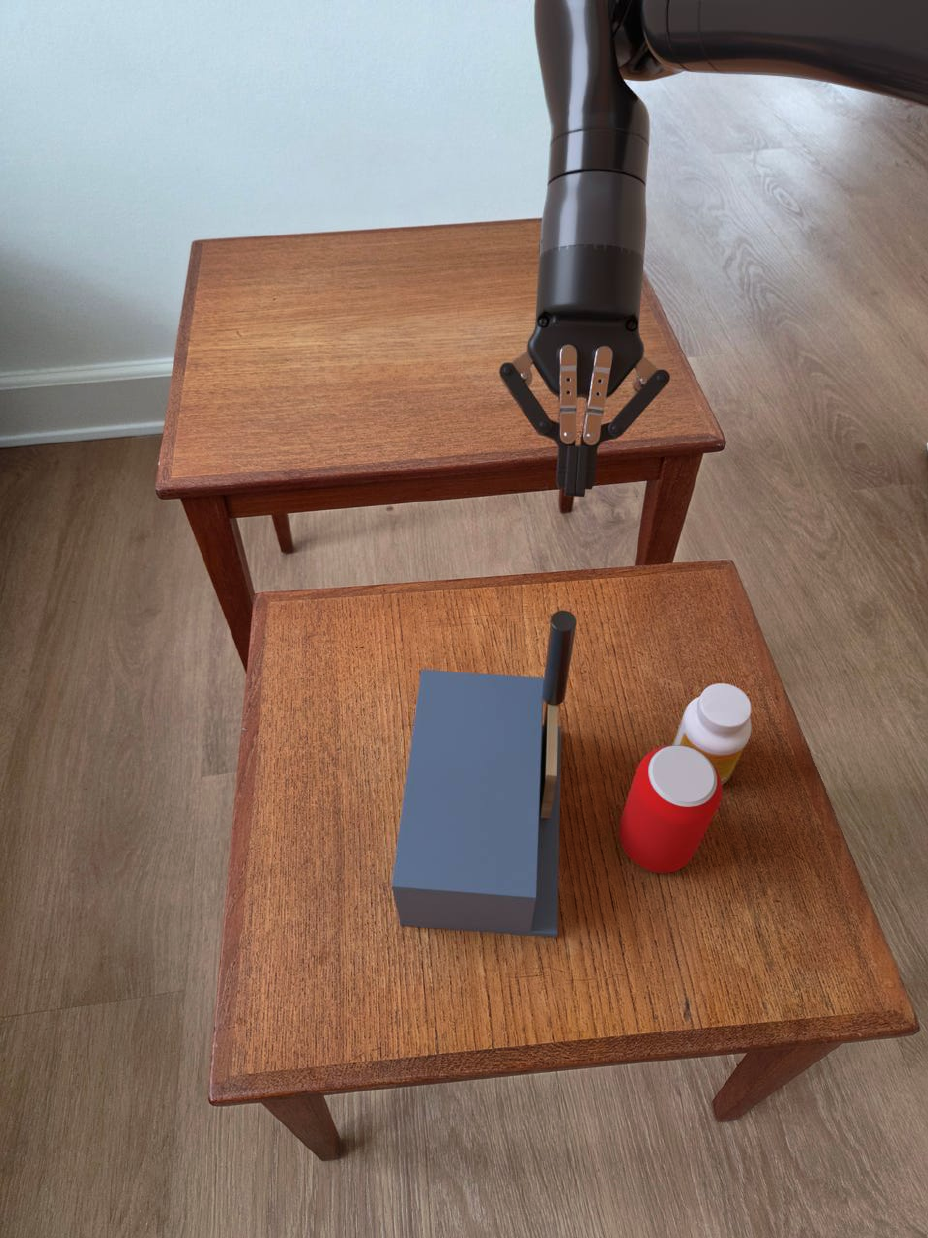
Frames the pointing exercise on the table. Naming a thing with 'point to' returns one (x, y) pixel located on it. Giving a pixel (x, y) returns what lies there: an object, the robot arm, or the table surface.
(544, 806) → the brown flat handled piece
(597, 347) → the robot arm
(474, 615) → the table surface
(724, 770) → the supplement bottle
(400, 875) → the cabinet
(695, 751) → the beverage can
